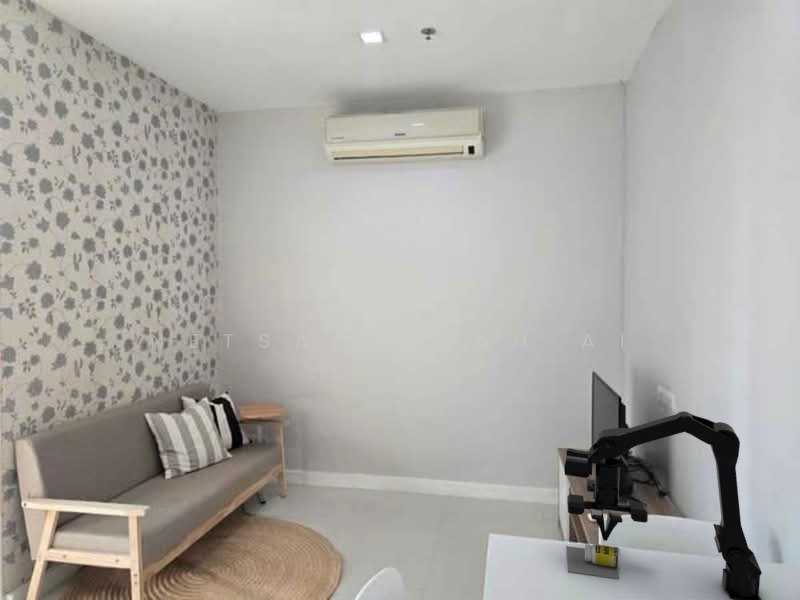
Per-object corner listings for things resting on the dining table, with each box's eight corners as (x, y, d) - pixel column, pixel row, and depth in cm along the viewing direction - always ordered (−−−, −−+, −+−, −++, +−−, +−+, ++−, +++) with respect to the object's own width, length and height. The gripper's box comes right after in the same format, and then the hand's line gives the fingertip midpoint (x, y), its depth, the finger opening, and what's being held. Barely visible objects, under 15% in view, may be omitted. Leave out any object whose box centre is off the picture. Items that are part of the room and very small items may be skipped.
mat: (613, 553, 143) (613, 552, 143) (619, 579, 132) (619, 578, 131) (566, 547, 146) (566, 545, 146) (567, 572, 135) (568, 571, 135)
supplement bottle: (620, 555, 134) (585, 549, 136) (620, 572, 135) (584, 566, 137) (619, 543, 138) (584, 538, 141) (618, 560, 139) (584, 554, 142)
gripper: (641, 472, 141) (639, 529, 143) (567, 464, 146) (565, 519, 148) (649, 490, 131) (646, 551, 132) (568, 481, 136) (567, 541, 137)
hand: (604, 539), depth 137 cm, fingers closed
